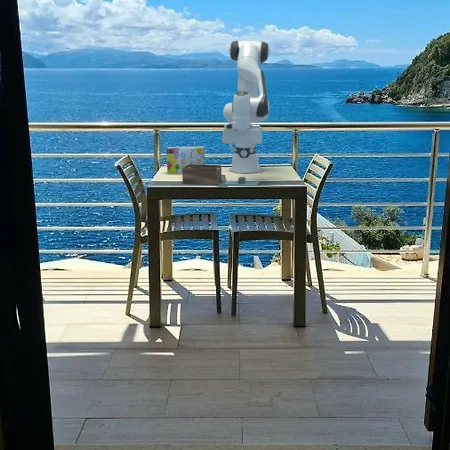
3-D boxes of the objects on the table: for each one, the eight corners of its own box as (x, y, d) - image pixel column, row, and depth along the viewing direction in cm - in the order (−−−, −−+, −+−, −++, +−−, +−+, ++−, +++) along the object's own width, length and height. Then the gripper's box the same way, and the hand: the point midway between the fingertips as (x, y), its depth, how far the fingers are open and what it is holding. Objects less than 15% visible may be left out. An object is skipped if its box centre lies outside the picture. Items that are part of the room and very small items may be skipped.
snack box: (204, 172, 333) (204, 146, 329) (204, 174, 327) (204, 147, 323) (167, 172, 332) (166, 146, 328) (167, 174, 327) (166, 147, 323)
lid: (227, 182, 306) (227, 175, 306) (259, 183, 303) (259, 176, 302) (224, 185, 297) (224, 179, 296) (256, 186, 294) (256, 180, 293)
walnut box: (188, 179, 311) (188, 164, 309) (221, 180, 308) (221, 165, 306) (182, 183, 300) (182, 167, 298) (216, 184, 297) (216, 168, 295)
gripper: (263, 124, 293) (263, 151, 297) (223, 123, 297) (223, 150, 301) (261, 125, 288) (261, 153, 292) (221, 125, 291) (221, 152, 295)
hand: (242, 152), depth 296 cm, fingers open, 8 cm apart
